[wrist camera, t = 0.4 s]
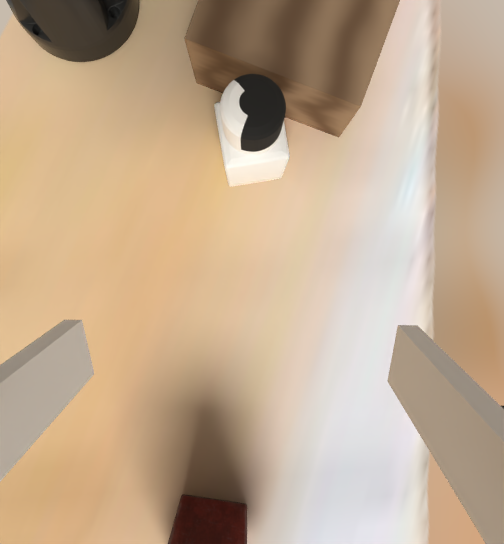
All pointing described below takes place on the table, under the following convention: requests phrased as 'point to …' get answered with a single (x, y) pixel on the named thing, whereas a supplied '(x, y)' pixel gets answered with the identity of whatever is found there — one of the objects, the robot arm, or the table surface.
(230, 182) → the medicine bottle
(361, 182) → the table surface
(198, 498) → the dark red tall piece
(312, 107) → the walnut box
